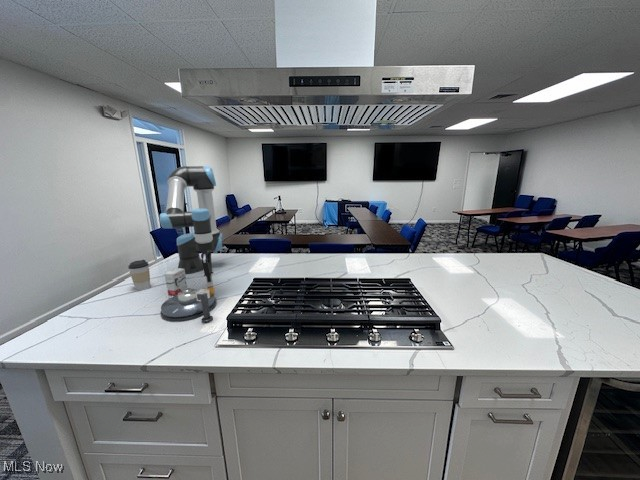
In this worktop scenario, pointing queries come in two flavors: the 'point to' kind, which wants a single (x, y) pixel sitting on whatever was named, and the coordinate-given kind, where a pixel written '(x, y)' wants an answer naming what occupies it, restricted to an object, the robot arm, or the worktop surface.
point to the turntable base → (187, 317)
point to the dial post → (204, 304)
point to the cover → (187, 297)
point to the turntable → (185, 306)
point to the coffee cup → (140, 274)
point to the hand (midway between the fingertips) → (210, 287)
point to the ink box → (176, 281)
